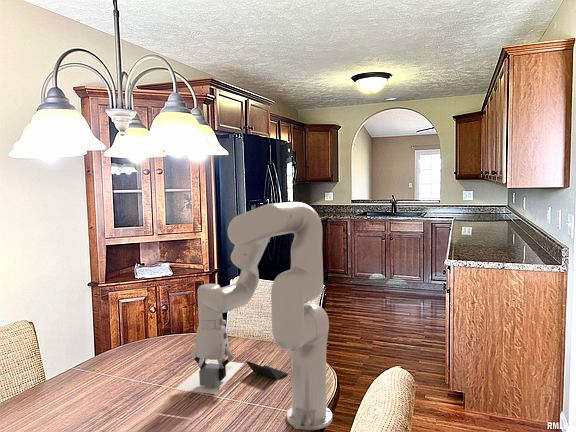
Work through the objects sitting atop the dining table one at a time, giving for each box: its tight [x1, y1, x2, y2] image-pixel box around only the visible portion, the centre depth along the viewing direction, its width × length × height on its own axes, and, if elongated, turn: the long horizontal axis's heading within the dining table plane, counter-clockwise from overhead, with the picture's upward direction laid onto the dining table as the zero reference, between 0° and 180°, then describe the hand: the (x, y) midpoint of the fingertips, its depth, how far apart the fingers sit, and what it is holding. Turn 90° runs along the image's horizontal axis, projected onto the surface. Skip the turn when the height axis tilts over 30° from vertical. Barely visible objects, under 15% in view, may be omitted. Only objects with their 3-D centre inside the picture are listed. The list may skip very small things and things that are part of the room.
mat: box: [175, 359, 245, 395], centre depth 147 cm, size 24×14×1 cm, turn 164°
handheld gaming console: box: [245, 360, 288, 381], centre depth 146 cm, size 12×7×10 cm
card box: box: [199, 361, 226, 387], centre depth 140 cm, size 8×6×4 cm
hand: (213, 377), depth 140 cm, fingers closed on card box, 5 cm apart
